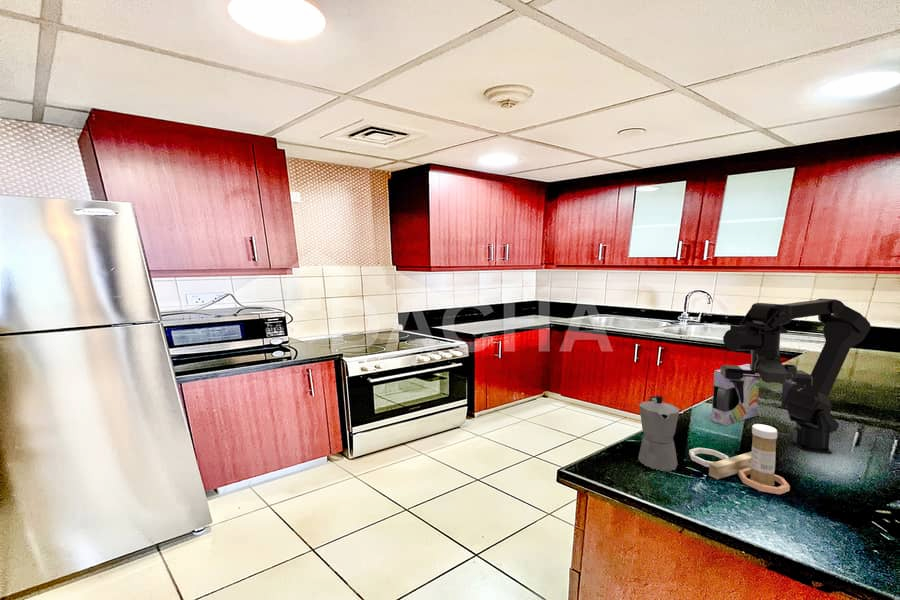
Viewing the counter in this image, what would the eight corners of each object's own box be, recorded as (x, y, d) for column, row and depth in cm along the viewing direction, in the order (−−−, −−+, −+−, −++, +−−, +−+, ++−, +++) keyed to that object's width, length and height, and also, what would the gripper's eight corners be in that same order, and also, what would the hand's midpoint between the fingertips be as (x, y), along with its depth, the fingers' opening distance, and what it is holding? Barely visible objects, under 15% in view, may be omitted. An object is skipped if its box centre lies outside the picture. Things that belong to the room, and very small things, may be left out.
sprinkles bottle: (773, 480, 89) (776, 426, 88) (775, 489, 86) (778, 433, 85) (748, 474, 92) (751, 421, 91) (749, 483, 88) (752, 428, 87)
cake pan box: (724, 427, 120) (726, 373, 119) (708, 421, 124) (710, 369, 123) (759, 417, 127) (762, 366, 126) (742, 412, 132) (745, 363, 131)
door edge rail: (750, 462, 98) (751, 451, 98) (759, 466, 96) (759, 455, 96) (708, 475, 92) (709, 463, 92) (717, 479, 90) (717, 467, 90)
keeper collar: (778, 477, 91) (778, 472, 91) (794, 497, 83) (795, 492, 83) (735, 470, 94) (735, 465, 94) (746, 488, 86) (746, 483, 86)
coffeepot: (685, 478, 91) (688, 406, 89) (642, 473, 94) (644, 402, 92) (669, 449, 105) (671, 387, 104) (632, 445, 108) (633, 384, 107)
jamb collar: (724, 455, 102) (724, 451, 102) (734, 471, 94) (734, 466, 94) (687, 449, 105) (687, 445, 105) (693, 464, 97) (693, 460, 97)
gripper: (732, 352, 98) (729, 410, 99) (826, 358, 91) (822, 421, 92) (721, 345, 108) (718, 397, 109) (804, 349, 101) (800, 406, 102)
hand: (762, 405), depth 103 cm, fingers open, 9 cm apart
